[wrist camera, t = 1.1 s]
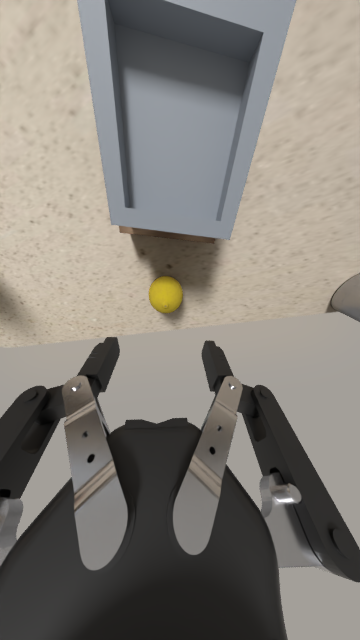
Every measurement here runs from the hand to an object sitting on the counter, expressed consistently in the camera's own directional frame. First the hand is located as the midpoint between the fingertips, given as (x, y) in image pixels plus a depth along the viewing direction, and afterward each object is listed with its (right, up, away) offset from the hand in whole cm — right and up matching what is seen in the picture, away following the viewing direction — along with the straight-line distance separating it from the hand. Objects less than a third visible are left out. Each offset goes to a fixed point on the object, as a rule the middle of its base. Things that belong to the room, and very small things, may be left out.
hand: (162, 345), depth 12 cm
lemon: (-1, +9, +13) cm, 16 cm away
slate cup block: (+1, +18, +1) cm, 18 cm away
